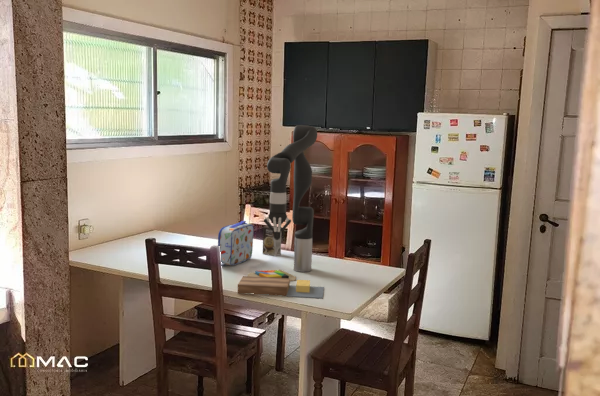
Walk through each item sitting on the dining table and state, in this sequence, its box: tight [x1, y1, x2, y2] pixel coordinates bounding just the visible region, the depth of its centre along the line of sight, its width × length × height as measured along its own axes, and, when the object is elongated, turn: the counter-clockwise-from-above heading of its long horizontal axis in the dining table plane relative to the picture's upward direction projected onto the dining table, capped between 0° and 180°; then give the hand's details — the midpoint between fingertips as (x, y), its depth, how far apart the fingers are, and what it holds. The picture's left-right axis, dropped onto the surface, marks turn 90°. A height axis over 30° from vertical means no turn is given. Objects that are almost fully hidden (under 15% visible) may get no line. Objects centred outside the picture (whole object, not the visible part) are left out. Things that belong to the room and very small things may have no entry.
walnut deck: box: [237, 275, 291, 297], centre depth 252 cm, size 14×22×4 cm, turn 86°
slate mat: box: [285, 284, 325, 299], centre depth 251 cm, size 16×16×1 cm
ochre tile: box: [295, 279, 311, 292], centre depth 254 cm, size 9×6×3 cm, turn 177°
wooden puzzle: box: [246, 269, 297, 282], centre depth 272 cm, size 17×19×4 cm
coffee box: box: [262, 225, 283, 257], centre depth 320 cm, size 9×6×16 cm
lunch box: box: [217, 220, 255, 266], centre depth 300 cm, size 28×10×22 cm, turn 158°
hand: (277, 239), depth 253 cm, fingers closed
